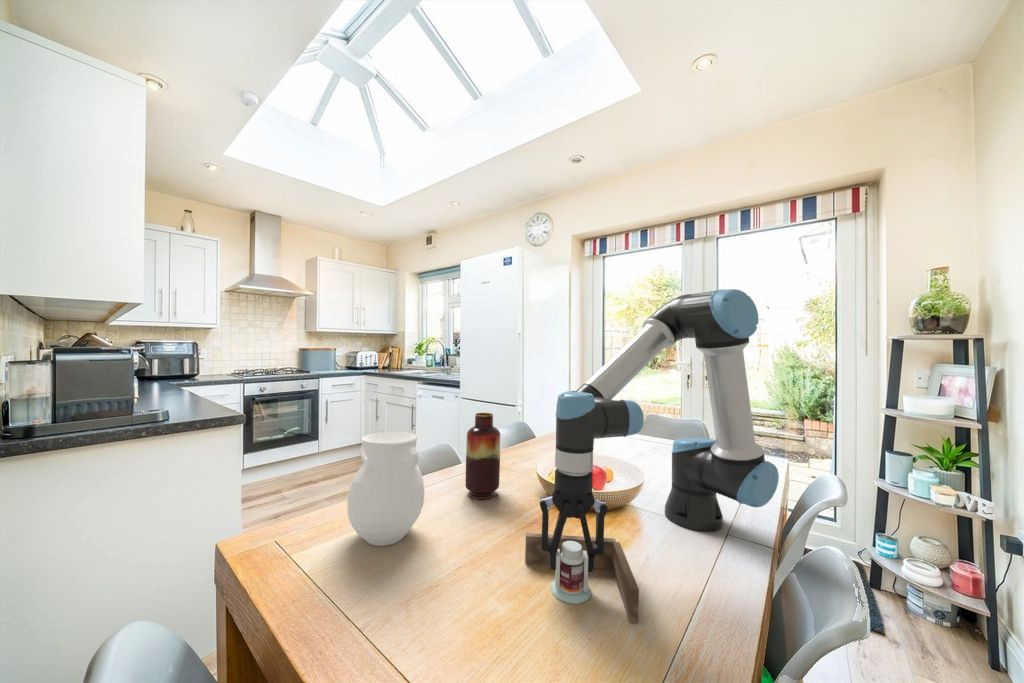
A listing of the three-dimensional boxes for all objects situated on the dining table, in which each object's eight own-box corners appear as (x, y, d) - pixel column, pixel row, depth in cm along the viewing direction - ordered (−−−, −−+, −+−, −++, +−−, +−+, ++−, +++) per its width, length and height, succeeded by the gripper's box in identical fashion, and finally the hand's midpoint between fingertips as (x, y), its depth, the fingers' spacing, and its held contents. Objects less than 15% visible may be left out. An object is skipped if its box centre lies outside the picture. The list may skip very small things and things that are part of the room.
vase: (505, 492, 123) (507, 413, 124) (485, 504, 114) (487, 419, 114) (478, 485, 129) (480, 410, 129) (457, 495, 120) (460, 414, 120)
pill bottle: (554, 583, 76) (555, 542, 76) (574, 578, 78) (575, 537, 78) (566, 598, 72) (568, 554, 72) (587, 592, 74) (588, 549, 74)
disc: (588, 579, 78) (588, 577, 78) (593, 605, 71) (593, 604, 71) (550, 576, 79) (550, 575, 79) (551, 602, 71) (551, 600, 71)
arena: (617, 565, 84) (618, 538, 84) (638, 623, 66) (638, 589, 66) (525, 559, 85) (526, 532, 85) (521, 614, 68) (522, 581, 68)
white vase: (438, 528, 99) (440, 433, 99) (387, 564, 82) (391, 450, 82) (384, 513, 106) (386, 425, 107) (328, 543, 90) (331, 439, 90)
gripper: (615, 465, 78) (612, 577, 78) (529, 461, 79) (527, 571, 79) (622, 478, 71) (620, 602, 70) (528, 473, 72) (525, 595, 72)
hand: (570, 585), depth 75 cm, fingers closed on pill bottle, 5 cm apart
